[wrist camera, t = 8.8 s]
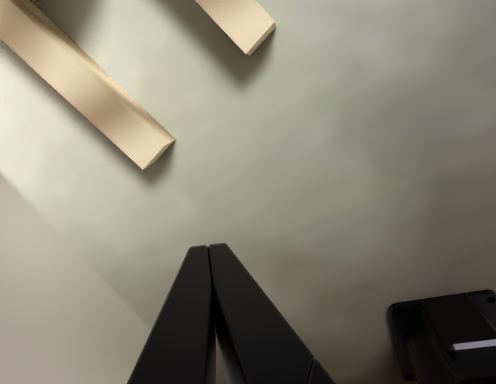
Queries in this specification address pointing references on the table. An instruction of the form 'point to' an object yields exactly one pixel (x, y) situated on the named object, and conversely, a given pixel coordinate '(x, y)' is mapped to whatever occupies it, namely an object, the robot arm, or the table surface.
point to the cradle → (100, 83)
